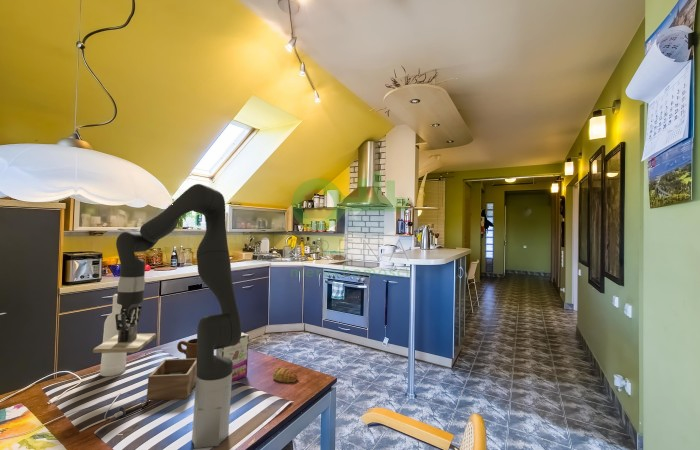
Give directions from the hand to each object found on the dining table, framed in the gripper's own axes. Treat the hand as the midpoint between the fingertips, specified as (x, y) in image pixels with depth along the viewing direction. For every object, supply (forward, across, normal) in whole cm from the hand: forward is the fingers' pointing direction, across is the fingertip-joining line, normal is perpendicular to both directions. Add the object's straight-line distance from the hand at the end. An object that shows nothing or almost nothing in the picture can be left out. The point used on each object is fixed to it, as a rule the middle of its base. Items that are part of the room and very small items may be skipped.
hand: (127, 338), depth 105 cm
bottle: (+18, +17, +11) cm, 27 cm away
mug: (+18, +23, -15) cm, 33 cm away
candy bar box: (+18, +6, -34) cm, 39 cm away
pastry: (+19, +5, -54) cm, 58 cm away
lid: (+2, 0, 0) cm, 2 cm away
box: (+18, 0, -16) cm, 24 cm away
